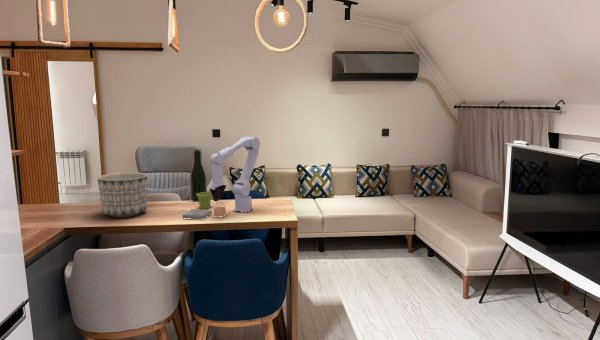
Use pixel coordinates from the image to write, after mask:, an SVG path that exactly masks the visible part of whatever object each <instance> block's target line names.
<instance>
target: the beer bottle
mask: <svg viewBox="0 0 600 340" xmlns="http://www.w3.org/2000/svg"><path fill="white" fill-rule="evenodd" d="M201 154H202V152H201V149H198V148H195V149H194V150H193V164H192V165H193V166H192V168H191V171H190V177H189V183H190V184H189V185H190V188H189V189H190V200H191V201H192V202H199V200H198V197H197V195H196V194H197V193H202V192H208V185H207V174H206V172H205V168H204V166H203V163H202V157H201V156H202V155H201Z"/></svg>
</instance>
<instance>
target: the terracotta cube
mask: <svg viewBox="0 0 600 340" xmlns="http://www.w3.org/2000/svg"><path fill="white" fill-rule="evenodd" d="M226 211H227V210H226V206H216V207H214V208H213V217H214V216H224V215H225V214H226ZM224 217H225V216H224Z"/></svg>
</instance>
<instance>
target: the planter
mask: <svg viewBox="0 0 600 340" xmlns="http://www.w3.org/2000/svg"><path fill="white" fill-rule="evenodd" d="M97 185H98V191H99V198H100V199H99V200H100V206H101V210H102V211H101V212H102V213H103V214H104V215H106V216H111V217H112V218H130V217H135V216H137V215H139V214H140V213H142V212H143V213H144V211H146V210H147V208H148V174H146V173H143V172H116V173H107V174H104V175H100V176H98V177H97Z"/></svg>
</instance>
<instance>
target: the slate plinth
mask: <svg viewBox="0 0 600 340" xmlns="http://www.w3.org/2000/svg"><path fill="white" fill-rule="evenodd" d="M212 211H213V210H212V209H211V210H210V209H195V208H194V209H192V208H191V209H190V210H188V211H186V212H185V213H183V214H182V219H183V218H191V219H204V218H206V217H207V216H209V215H210V214H213V213H212ZM210 216H211V215H210ZM210 216H209V217H210ZM207 218H208V217H207ZM207 218H206V219H207Z"/></svg>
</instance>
